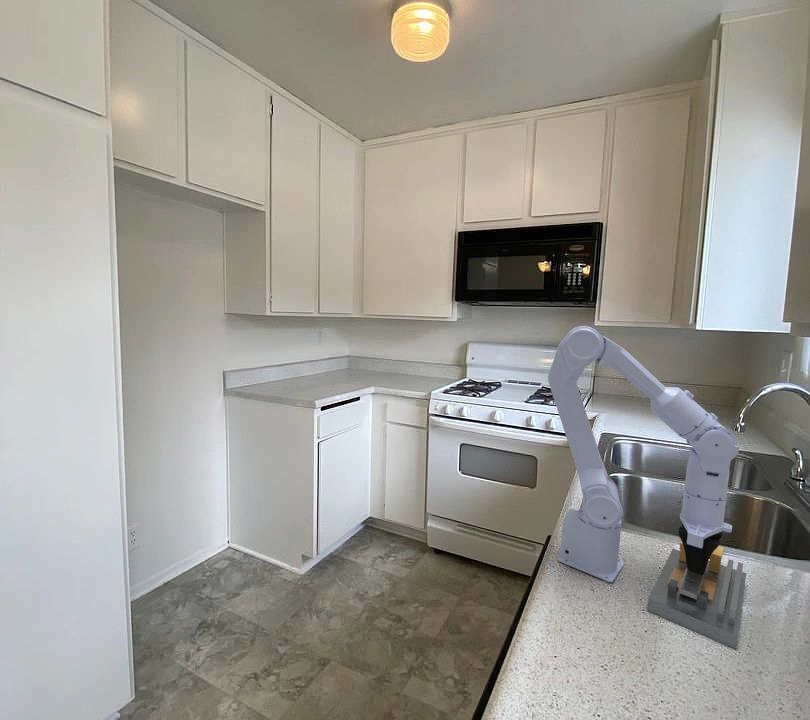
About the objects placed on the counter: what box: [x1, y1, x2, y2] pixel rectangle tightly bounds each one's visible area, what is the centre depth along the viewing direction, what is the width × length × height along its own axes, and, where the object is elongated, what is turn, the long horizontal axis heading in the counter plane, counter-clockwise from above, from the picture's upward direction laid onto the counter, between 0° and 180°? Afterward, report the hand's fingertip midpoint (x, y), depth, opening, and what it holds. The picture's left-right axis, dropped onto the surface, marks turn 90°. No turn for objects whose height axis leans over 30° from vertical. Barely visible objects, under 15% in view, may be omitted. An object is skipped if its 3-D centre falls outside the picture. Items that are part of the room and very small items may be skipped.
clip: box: [679, 540, 724, 573], centre depth 76 cm, size 6×4×3 cm, turn 48°
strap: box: [678, 568, 706, 600], centre depth 70 cm, size 2×11×1 cm, turn 139°
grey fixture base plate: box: [647, 548, 747, 650], centre depth 70 cm, size 11×20×4 cm, turn 138°
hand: (696, 570), depth 72 cm, fingers closed on strap
